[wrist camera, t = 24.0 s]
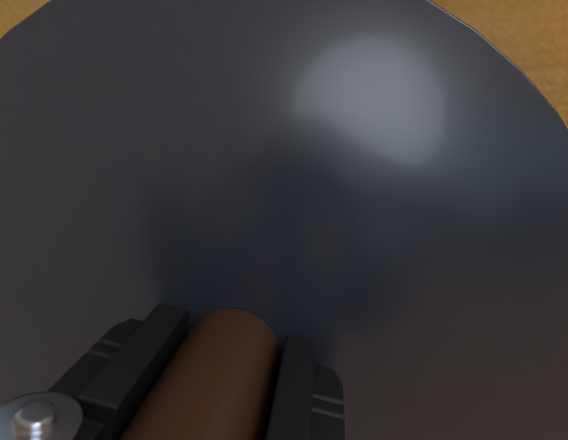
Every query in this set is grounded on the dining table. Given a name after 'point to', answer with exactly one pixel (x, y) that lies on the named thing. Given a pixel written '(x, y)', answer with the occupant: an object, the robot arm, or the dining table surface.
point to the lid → (287, 212)
